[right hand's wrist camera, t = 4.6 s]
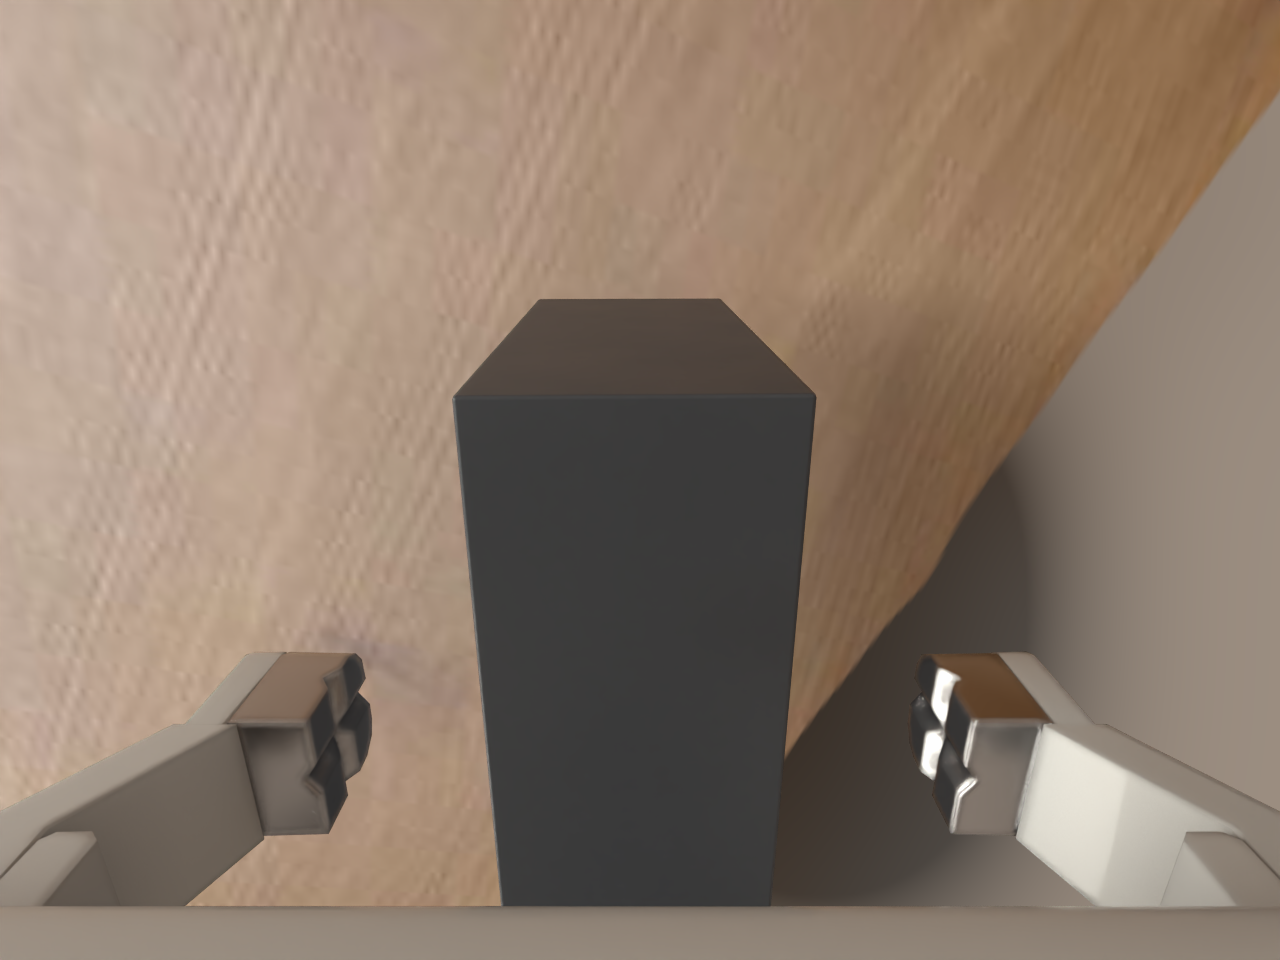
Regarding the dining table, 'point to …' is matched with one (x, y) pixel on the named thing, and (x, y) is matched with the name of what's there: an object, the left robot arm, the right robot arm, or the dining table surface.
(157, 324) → the dining table surface
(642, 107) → the dining table surface
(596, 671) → the box
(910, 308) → the dining table surface
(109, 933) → the right robot arm
